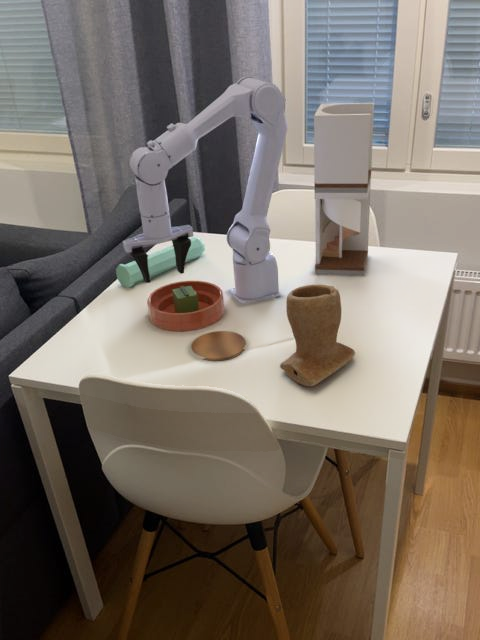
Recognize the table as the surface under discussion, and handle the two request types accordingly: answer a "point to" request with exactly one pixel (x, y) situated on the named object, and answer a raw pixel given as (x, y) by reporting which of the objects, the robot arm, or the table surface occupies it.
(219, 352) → the coaster
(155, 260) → the container
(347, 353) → the stone cup
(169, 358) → the table surface
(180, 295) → the green grooved block
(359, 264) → the spiral staircase tower
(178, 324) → the bowl
